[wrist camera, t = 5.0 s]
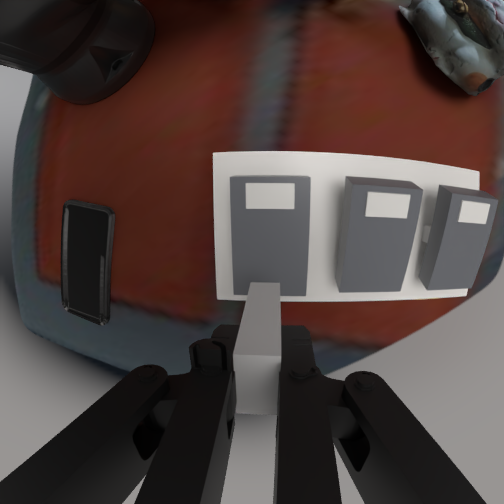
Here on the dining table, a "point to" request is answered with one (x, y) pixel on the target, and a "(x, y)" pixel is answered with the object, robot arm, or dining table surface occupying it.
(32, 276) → the dining table surface
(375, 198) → the rocker
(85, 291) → the phone
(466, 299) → the dining table surface
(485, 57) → the lucky cat figurine
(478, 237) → the rocker
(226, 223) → the switch unit
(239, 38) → the dining table surface
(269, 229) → the block
